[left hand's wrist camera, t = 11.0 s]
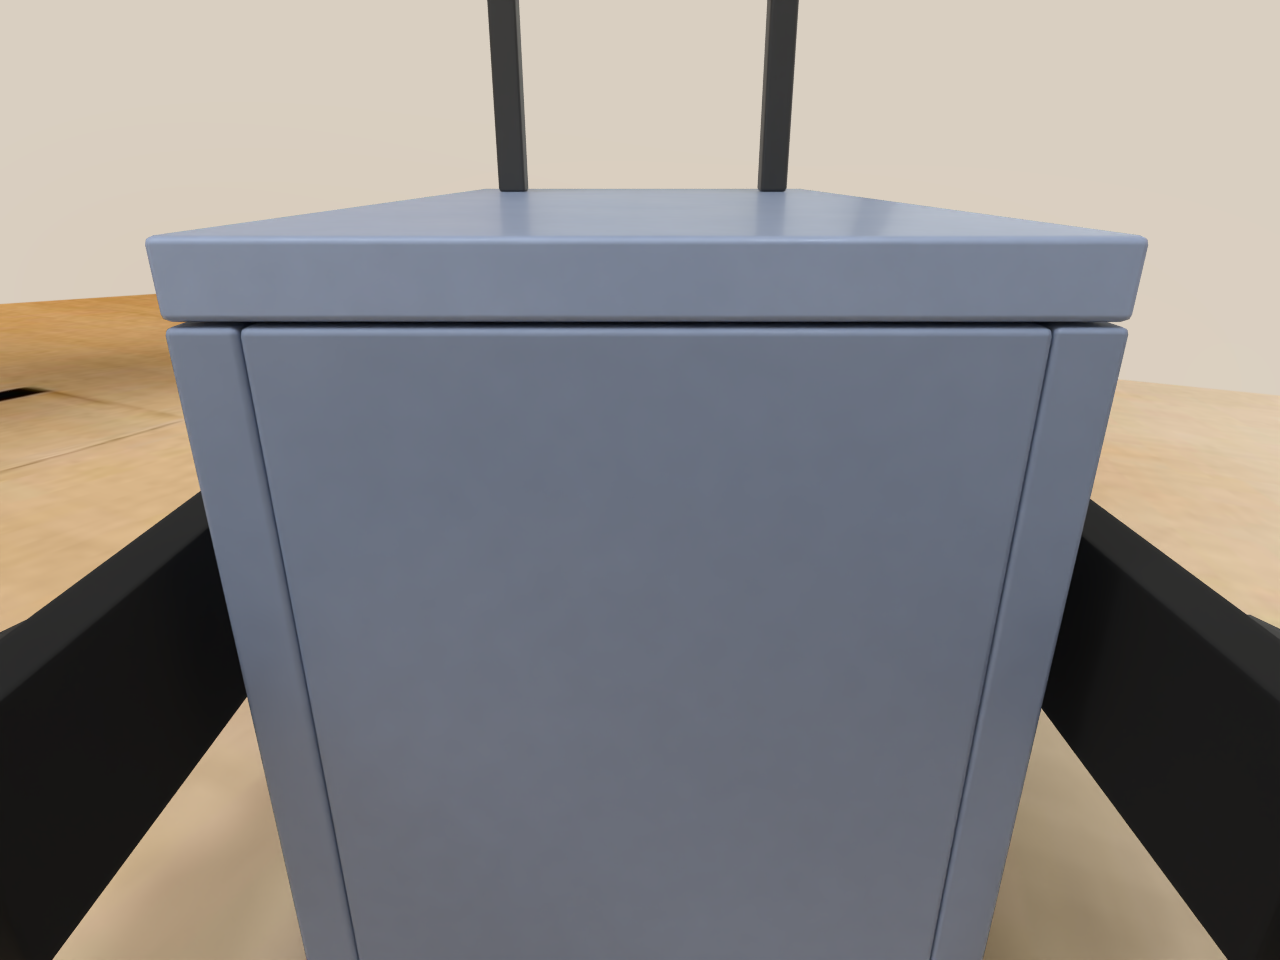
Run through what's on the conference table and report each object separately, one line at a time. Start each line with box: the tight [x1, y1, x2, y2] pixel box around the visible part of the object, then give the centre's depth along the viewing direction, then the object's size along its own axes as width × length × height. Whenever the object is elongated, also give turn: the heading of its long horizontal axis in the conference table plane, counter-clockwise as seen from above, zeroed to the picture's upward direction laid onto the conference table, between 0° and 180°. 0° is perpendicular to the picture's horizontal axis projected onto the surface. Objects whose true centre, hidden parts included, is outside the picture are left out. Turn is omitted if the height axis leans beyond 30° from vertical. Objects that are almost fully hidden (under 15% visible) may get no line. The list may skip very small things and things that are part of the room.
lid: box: [145, 0, 1148, 322], centre depth 14 cm, size 18×10×8 cm, turn 0°
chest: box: [166, 322, 1128, 960], centre depth 18 cm, size 17×10×11 cm, turn 0°
